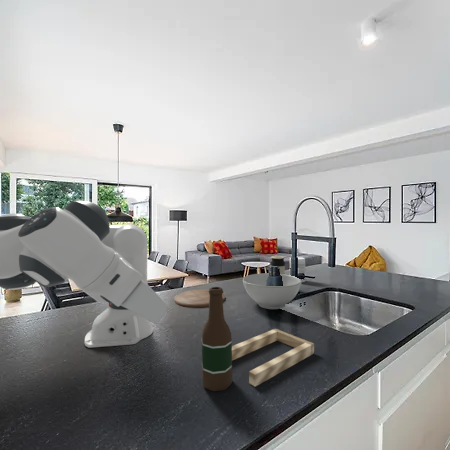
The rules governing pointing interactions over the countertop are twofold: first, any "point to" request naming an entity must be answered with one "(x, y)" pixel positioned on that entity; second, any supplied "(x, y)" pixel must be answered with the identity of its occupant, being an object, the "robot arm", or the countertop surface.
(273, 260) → the travel mug
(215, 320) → the beer bottle
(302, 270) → the supplement tub
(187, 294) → the trivet
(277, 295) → the decorative bowl
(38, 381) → the countertop surface
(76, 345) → the countertop surface
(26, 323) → the countertop surface
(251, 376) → the u rest
